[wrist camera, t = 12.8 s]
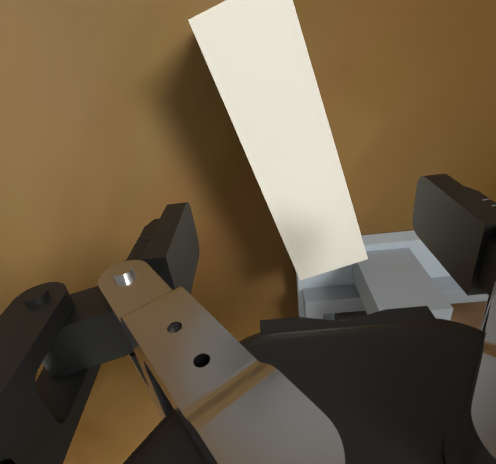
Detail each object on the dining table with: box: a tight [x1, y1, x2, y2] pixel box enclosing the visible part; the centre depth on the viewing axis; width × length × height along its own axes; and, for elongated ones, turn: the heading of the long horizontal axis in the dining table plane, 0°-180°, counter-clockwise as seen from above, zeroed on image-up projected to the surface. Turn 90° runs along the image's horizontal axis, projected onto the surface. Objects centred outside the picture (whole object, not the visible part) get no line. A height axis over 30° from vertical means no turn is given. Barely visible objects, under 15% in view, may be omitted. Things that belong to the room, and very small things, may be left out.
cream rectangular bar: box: [188, 0, 368, 280], centre depth 18 cm, size 14×4×4 cm, turn 23°
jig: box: [296, 231, 489, 320], centre depth 23 cm, size 19×14×7 cm
